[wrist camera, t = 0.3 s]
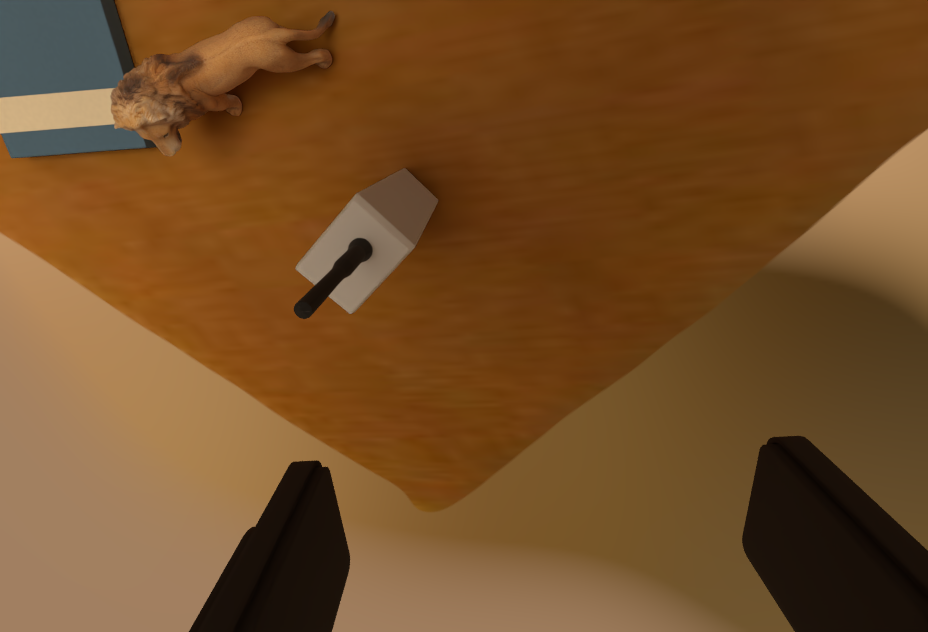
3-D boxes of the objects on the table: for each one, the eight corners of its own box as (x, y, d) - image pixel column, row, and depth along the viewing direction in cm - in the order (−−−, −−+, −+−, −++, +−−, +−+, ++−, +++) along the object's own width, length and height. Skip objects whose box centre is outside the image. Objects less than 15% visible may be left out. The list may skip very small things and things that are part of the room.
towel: (-104, -168, 30) (-135, -184, 28) (57, -187, 29) (35, -203, 28) (28, 157, 37) (9, 158, 36) (158, 146, 37) (145, 147, 35)
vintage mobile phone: (366, 212, 38) (200, 337, 15) (405, 166, 37) (288, 228, 14) (399, 242, 39) (293, 404, 16) (439, 199, 38) (384, 309, 15)
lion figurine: (212, 159, 37) (135, 168, 29) (163, 97, 35) (67, 87, 27) (356, 48, 34) (318, 22, 25) (311, -25, 32) (254, -79, 24)
